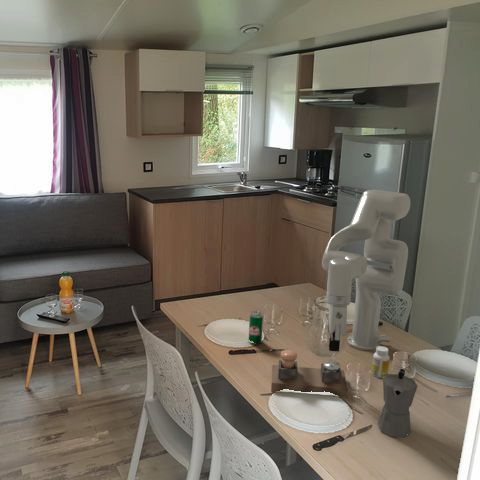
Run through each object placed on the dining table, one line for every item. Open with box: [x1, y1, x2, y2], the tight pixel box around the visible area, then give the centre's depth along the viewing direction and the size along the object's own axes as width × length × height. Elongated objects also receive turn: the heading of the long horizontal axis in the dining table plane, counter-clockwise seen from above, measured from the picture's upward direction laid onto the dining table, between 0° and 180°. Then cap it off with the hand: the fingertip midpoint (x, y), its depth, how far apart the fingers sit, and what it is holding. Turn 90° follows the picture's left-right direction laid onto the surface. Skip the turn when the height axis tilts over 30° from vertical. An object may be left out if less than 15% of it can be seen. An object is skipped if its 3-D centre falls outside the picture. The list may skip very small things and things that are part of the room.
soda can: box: [248, 310, 264, 345], centre depth 204 cm, size 5×5×12 cm
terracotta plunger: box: [280, 349, 298, 369], centre depth 174 cm, size 5×5×5 cm
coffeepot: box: [377, 368, 418, 438], centre depth 153 cm, size 15×9×18 cm, turn 158°
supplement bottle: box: [371, 345, 390, 379], centre depth 184 cm, size 5×5×10 cm
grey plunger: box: [323, 360, 341, 372], centre depth 174 cm, size 5×5×5 cm
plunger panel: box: [270, 359, 349, 398], centre depth 175 cm, size 24×12×6 cm, turn 86°
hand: (333, 350), depth 173 cm, fingers closed
